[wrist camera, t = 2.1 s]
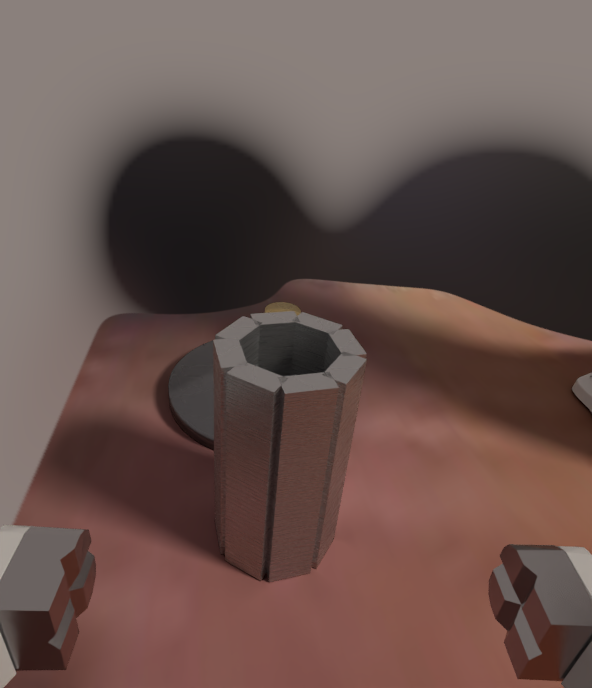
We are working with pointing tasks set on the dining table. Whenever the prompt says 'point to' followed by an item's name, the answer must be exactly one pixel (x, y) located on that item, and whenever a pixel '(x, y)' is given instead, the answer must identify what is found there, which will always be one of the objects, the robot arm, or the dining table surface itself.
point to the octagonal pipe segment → (282, 438)
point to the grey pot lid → (201, 388)
